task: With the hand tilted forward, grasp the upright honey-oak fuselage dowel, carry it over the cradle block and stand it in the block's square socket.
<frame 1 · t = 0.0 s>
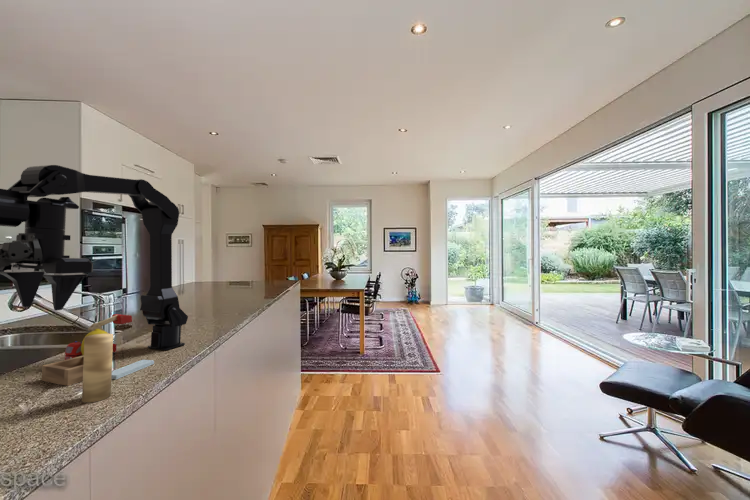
hand: (42, 308, 66), 15 cm above the counter, tool pointing down, fingers open, 9 cm apart
fuselage dowel: (96, 397, 60), on the counter
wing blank: (130, 370, 74), on the counter
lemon: (96, 363, 79), on the counter
toy fire truck: (99, 356, 84), on the counter
cradle block: (76, 376, 70), on the counter
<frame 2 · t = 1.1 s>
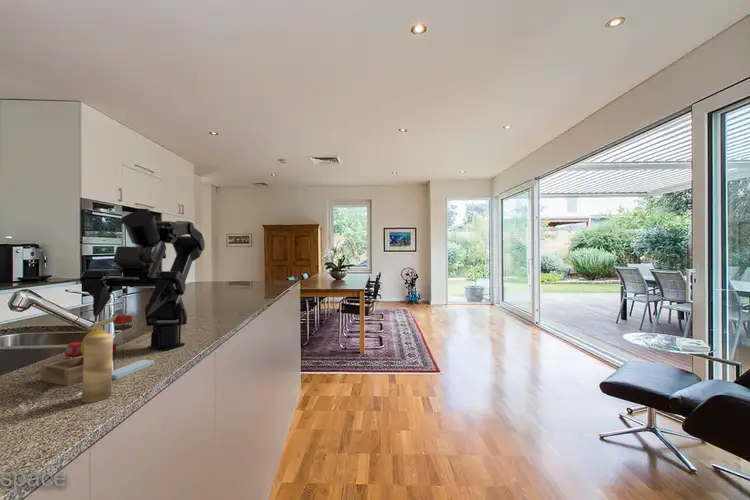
hand: (121, 315, 68), 13 cm above the counter, tool tilted 45°, fingers open, 9 cm apart
nothing on the counter moved.
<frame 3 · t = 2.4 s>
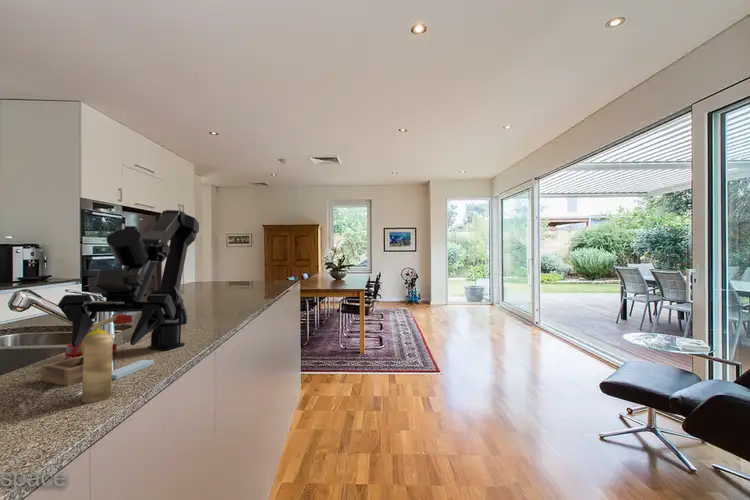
hand: (103, 345, 62), 9 cm above the counter, tool tilted 45°, fingers open, 9 cm apart
nothing on the counter moved.
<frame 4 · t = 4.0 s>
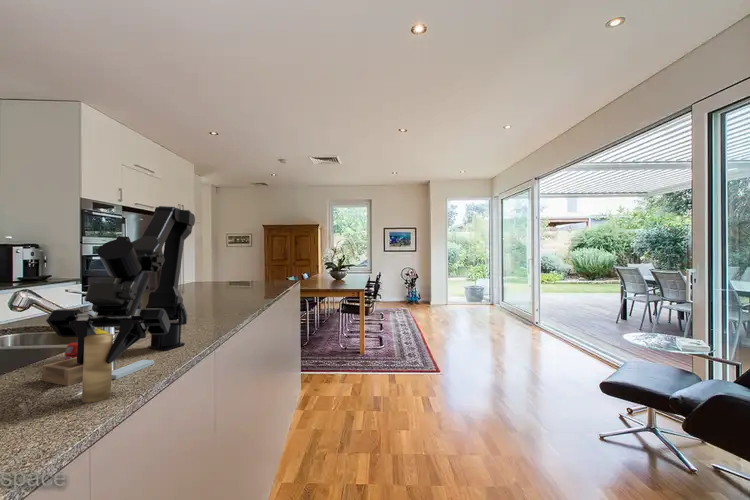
hand: (93, 363, 59), 7 cm above the counter, tool tilted 45°, fingers closed on fuselage dowel, 4 cm apart
fuselage dowel: (96, 397, 60), on the counter, touching gripper
everything else where it was.
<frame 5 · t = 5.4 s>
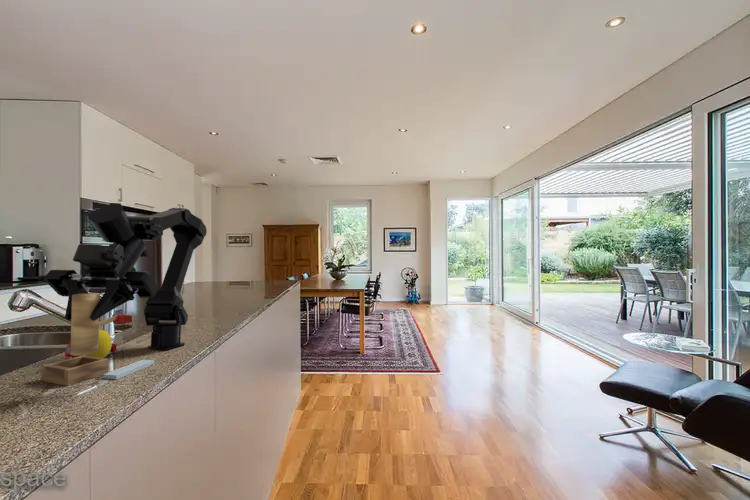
hand: (79, 319, 62), 14 cm above the counter, tool tilted 45°, fingers closed on fuselage dowel, 4 cm apart
fuselage dowel: (84, 352, 64), point 7 cm above the counter, touching gripper
everything else where it was.
when the fingers open (9 cm above the counter, at t = 7.3 s): fuselage dowel drops 1 cm, resting on cradle block.
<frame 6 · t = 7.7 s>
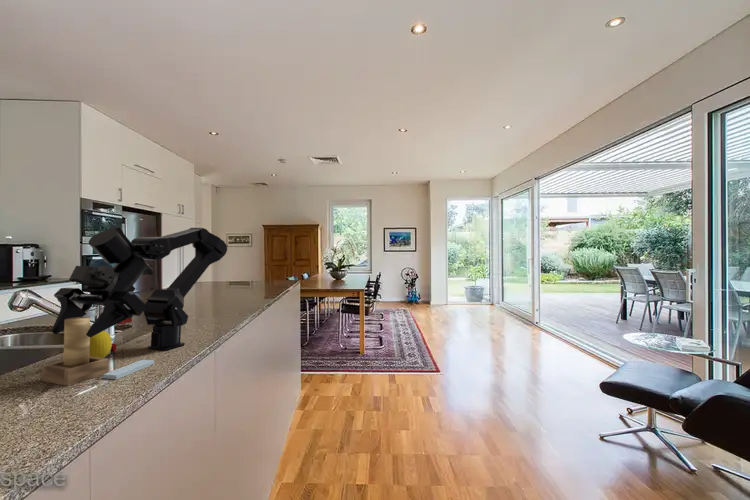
hand: (70, 334, 69), 9 cm above the counter, tool tilted 45°, fingers open, 8 cm apart
fuselage dowel: (76, 371, 70), point 1 cm above the counter, touching cradle block
everything else where it was.
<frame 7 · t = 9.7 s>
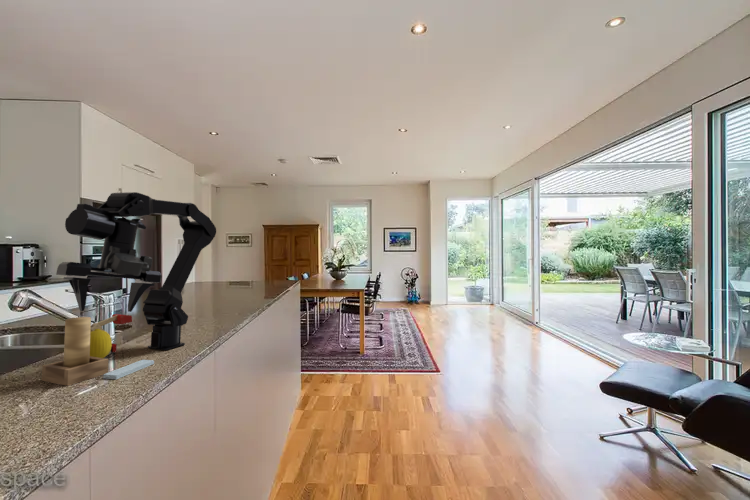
hand: (106, 311, 77), 12 cm above the counter, tool pointing down, fingers open, 9 cm apart
nothing on the counter moved.
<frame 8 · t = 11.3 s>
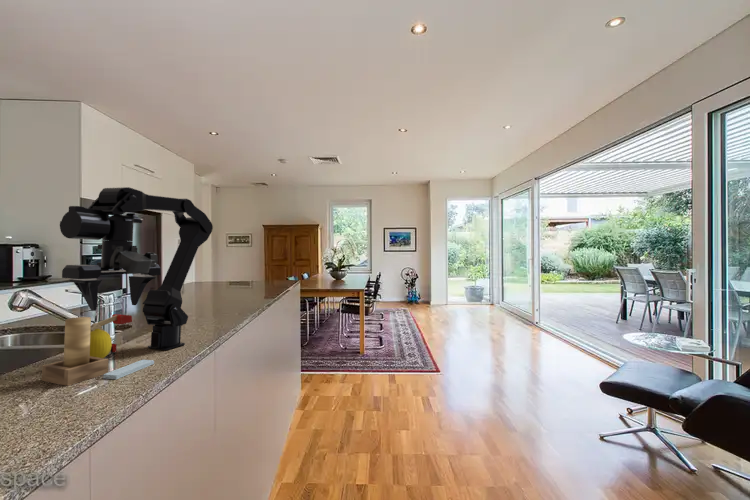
hand: (115, 307, 79), 13 cm above the counter, tool pointing down, fingers open, 9 cm apart
nothing on the counter moved.
at the end: fuselage dowel 0.0 cm off-centre on the cradle block, point 1.0 cm above the cradle block's base; fuselage dowel tilted 0°; the gripper is holding nothing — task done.
